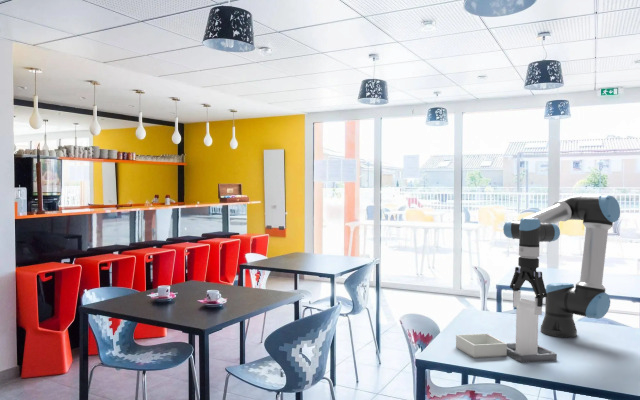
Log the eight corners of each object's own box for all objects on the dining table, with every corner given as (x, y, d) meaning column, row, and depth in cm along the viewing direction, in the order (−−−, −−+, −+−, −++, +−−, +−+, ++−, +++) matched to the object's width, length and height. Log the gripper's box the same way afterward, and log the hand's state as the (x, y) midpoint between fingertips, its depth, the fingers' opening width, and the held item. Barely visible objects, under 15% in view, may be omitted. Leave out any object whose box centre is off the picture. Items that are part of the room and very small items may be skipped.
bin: (486, 345, 212) (487, 333, 212) (506, 356, 198) (506, 343, 198) (455, 347, 209) (456, 335, 209) (473, 358, 195) (473, 345, 195)
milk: (529, 358, 196) (530, 302, 196) (515, 354, 201) (516, 299, 200) (537, 355, 200) (539, 300, 199) (523, 351, 204) (524, 297, 204)
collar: (531, 348, 209) (531, 342, 209) (556, 360, 194) (556, 353, 194) (497, 349, 206) (497, 343, 206) (520, 362, 191) (521, 355, 191)
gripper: (502, 253, 211) (500, 304, 211) (540, 261, 187) (538, 318, 187) (518, 253, 213) (516, 303, 213) (558, 261, 188) (556, 318, 188)
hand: (526, 310), depth 200 cm, fingers open, 13 cm apart
